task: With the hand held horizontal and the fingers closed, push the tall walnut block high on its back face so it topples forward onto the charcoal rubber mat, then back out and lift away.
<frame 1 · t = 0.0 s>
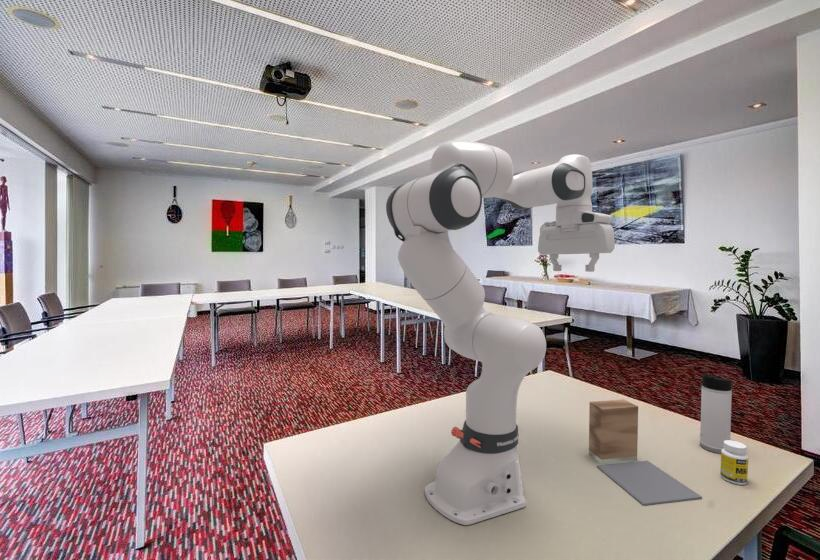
hand: (573, 271, 100), 48 cm above the table, tool pointing down, fingers open, 8 cm apart
travel mug: (714, 449, 101), on the table
mat: (645, 481, 86), on the table
supplement bottle: (733, 480, 87), on the table
walnut block: (612, 457, 97), on the table
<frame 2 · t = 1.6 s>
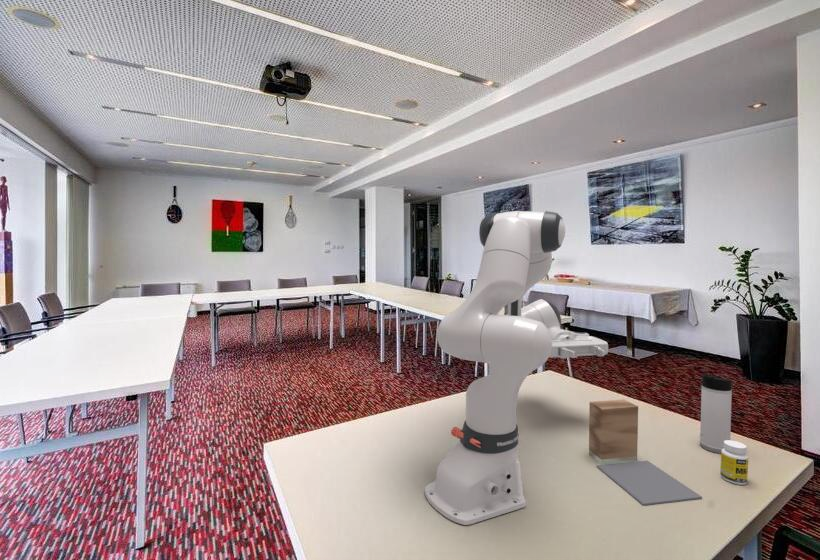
hand: (588, 354, 106), 24 cm above the table, tool horizontal, fingers open, 7 cm apart
nothing on the table moved.
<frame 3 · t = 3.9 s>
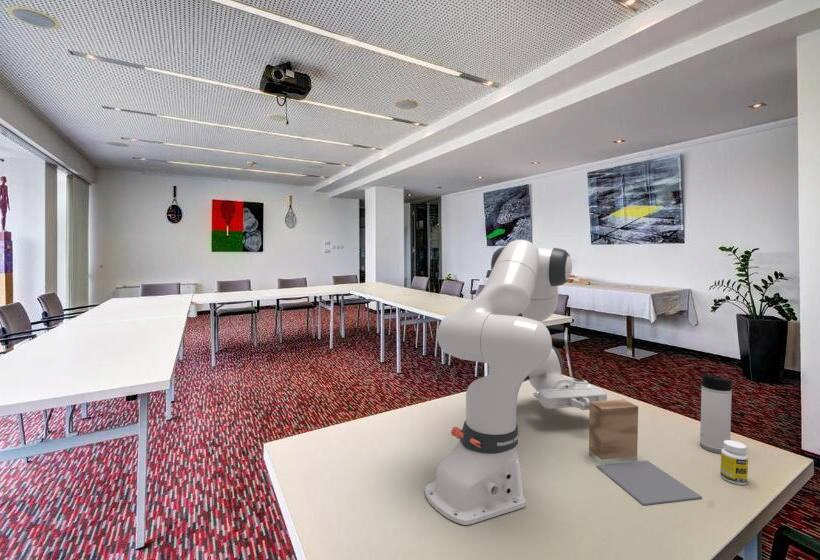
hand: (587, 407, 107), 9 cm above the table, tool horizontal, fingers closed
nothing on the table moved.
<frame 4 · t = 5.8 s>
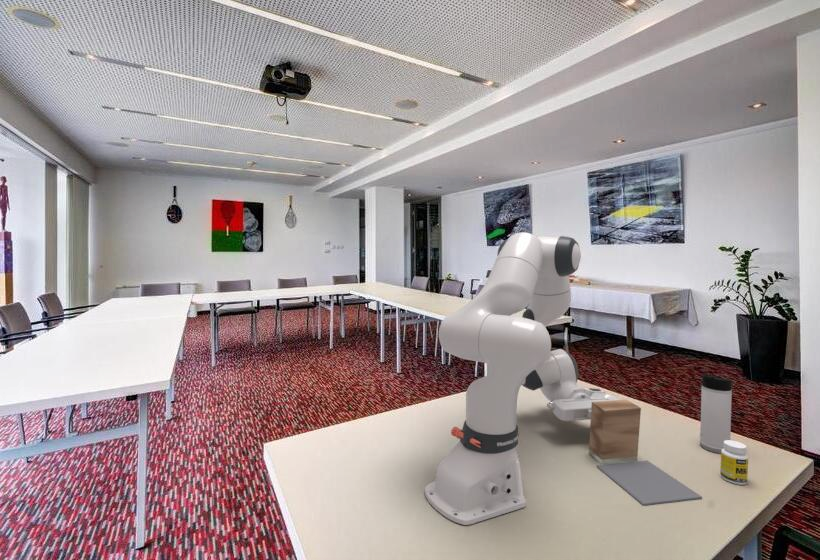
hand: (607, 420, 99), 9 cm above the table, tool horizontal, fingers closed
walnut block: (612, 456, 97), on the table, touching gripper
everything else where it was.
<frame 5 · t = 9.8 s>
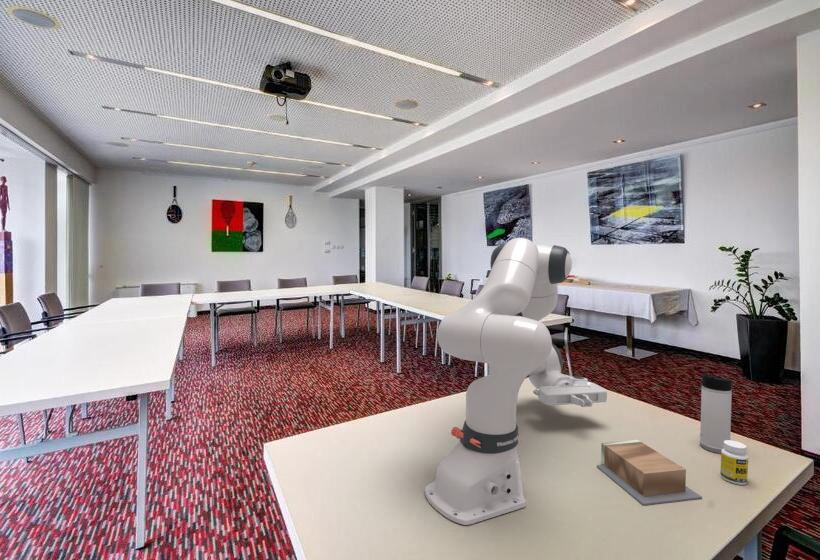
hand: (587, 404, 107), 10 cm above the table, tool horizontal, fingers closed
walnut block: (619, 450, 94), point 3 cm above the table, tilted 90°, touching mat
everything else where it was.
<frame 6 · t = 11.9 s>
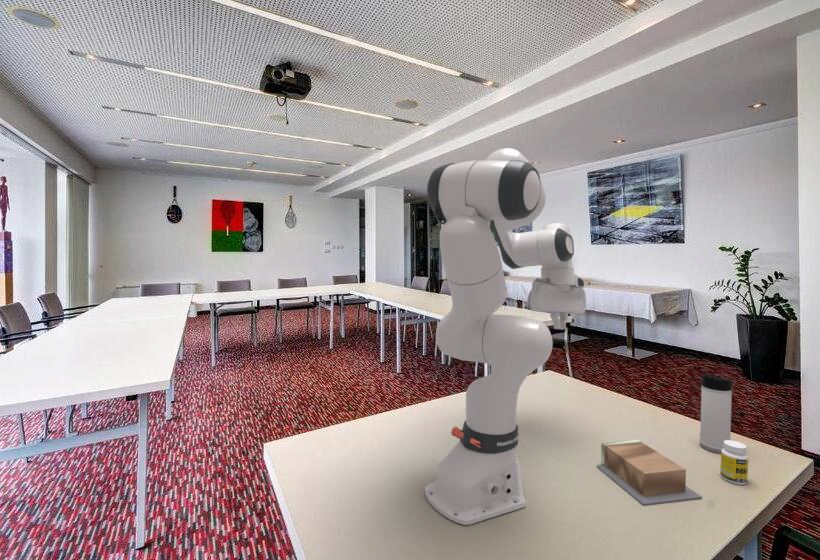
hand: (559, 329, 106), 32 cm above the table, tool pointing down, fingers closed
nothing on the table moved.
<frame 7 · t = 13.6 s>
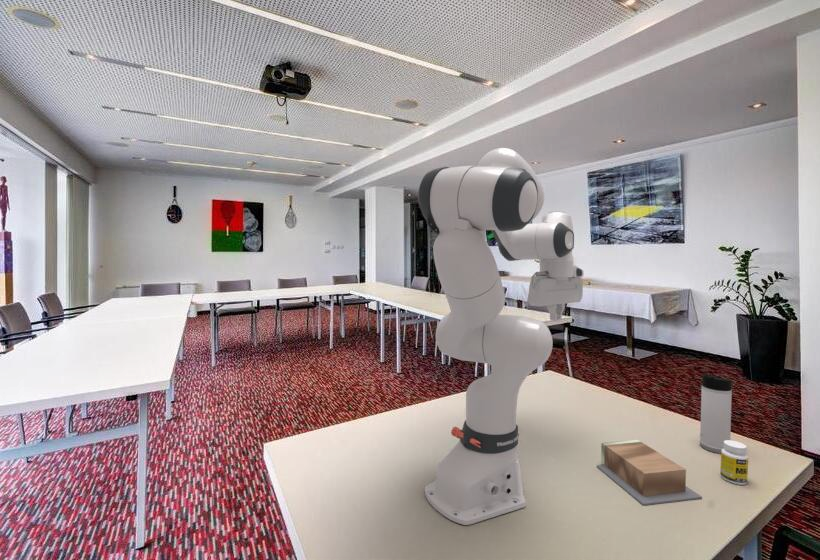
hand: (555, 320, 106), 34 cm above the table, tool pointing down, fingers closed
nothing on the table moved.
at the end: walnut block tilted 90°; walnut block touching mat; the gripper is holding nothing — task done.
